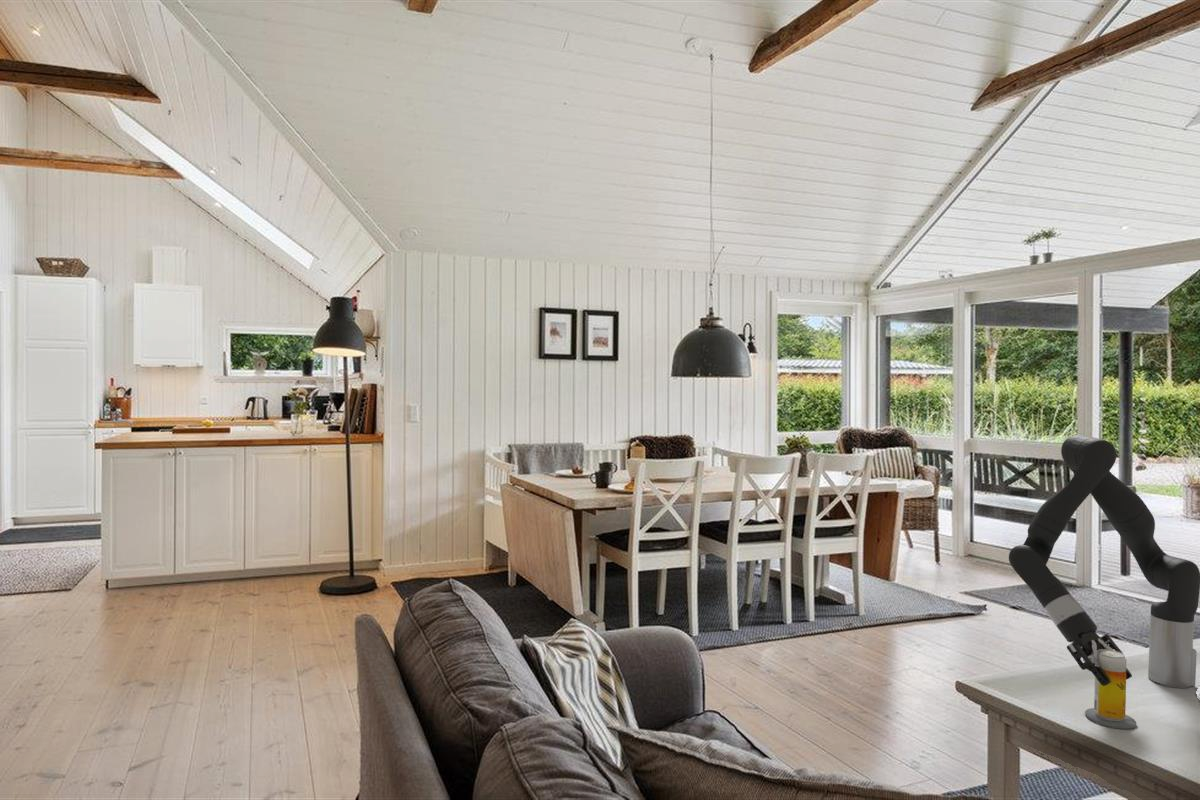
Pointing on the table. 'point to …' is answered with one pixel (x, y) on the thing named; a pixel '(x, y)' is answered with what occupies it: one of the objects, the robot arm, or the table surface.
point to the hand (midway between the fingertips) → (1118, 681)
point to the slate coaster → (1124, 724)
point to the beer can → (1111, 686)
